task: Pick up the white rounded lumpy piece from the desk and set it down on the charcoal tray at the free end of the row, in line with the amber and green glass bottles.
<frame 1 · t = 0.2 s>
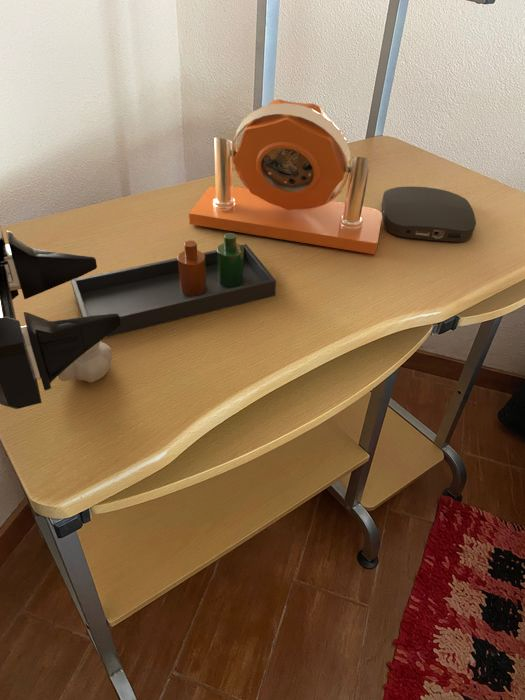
hand: (107, 289, 47), 15 cm above the table, tool horizontal, fingers open, 9 cm apart
desk clock: (286, 226, 87), on the table
media streaming box: (424, 221, 90), on the table
green bottle: (230, 279, 74), resting on tray
amber bottle: (193, 288, 72), resting on tray
tray: (176, 295, 72), on the table
white rounded lumpy piece: (87, 377, 60), on the table
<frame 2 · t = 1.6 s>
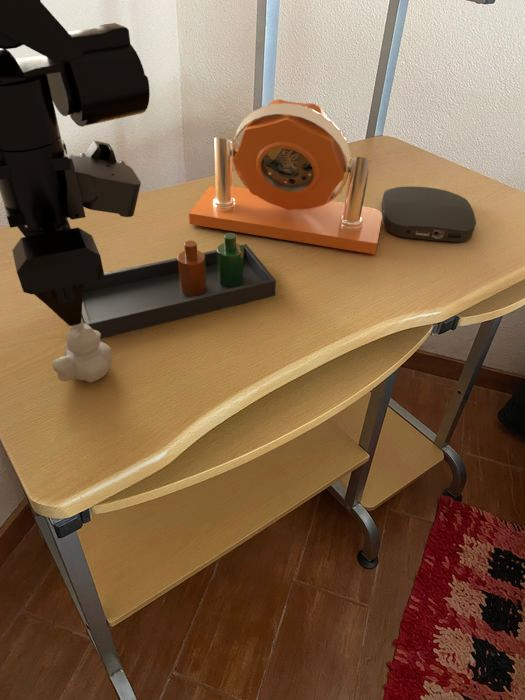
hand: (66, 296, 52), 11 cm above the table, tool pointing down, fingers open, 9 cm apart
nothing on the table moved.
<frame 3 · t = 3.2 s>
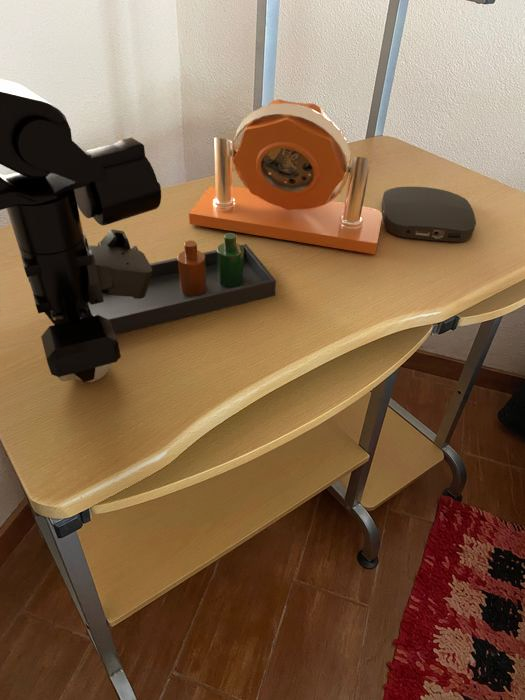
hand: (83, 362, 58), 2 cm above the table, tool pointing down, fingers closed on white rounded lumpy piece, 5 cm apart
white rounded lumpy piece: (87, 376, 60), on the table, touching gripper
everything else where it was.
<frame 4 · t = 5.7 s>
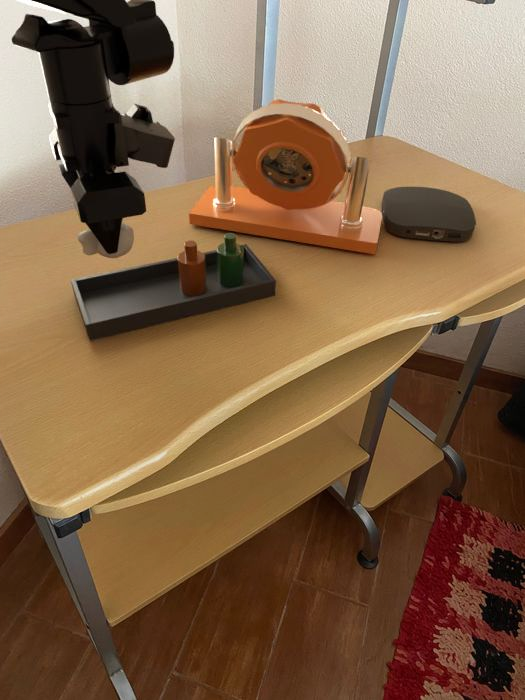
hand: (106, 240, 60), 11 cm above the table, tool pointing down, fingers closed on white rounded lumpy piece, 5 cm apart
white rounded lumpy piece: (110, 256, 62), point 9 cm above the table, touching gripper
everything else where it was.
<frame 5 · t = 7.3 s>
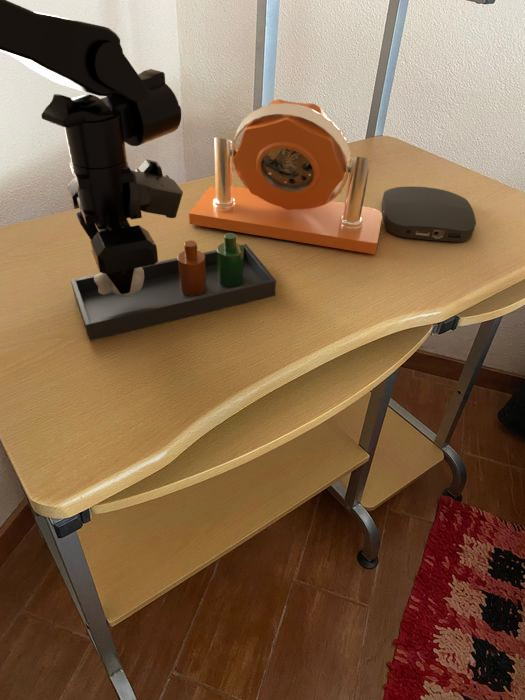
hand: (119, 280, 66), 4 cm above the table, tool pointing down, fingers closed on white rounded lumpy piece, 5 cm apart
white rounded lumpy piece: (122, 294, 68), point 2 cm above the table, touching gripper
everything else where it was.
when the fingers open (3 cm above the table, at t = 8.3 s): white rounded lumpy piece stays where it is, resting on tray.
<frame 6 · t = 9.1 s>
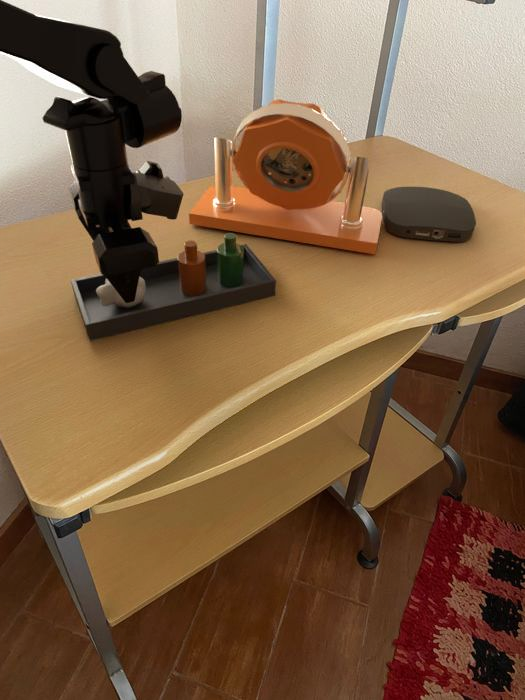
hand: (120, 281, 67), 4 cm above the table, tool pointing down, fingers open, 9 cm apart
white rounded lumpy piece: (124, 305, 69), resting on tray
everything else where it was.
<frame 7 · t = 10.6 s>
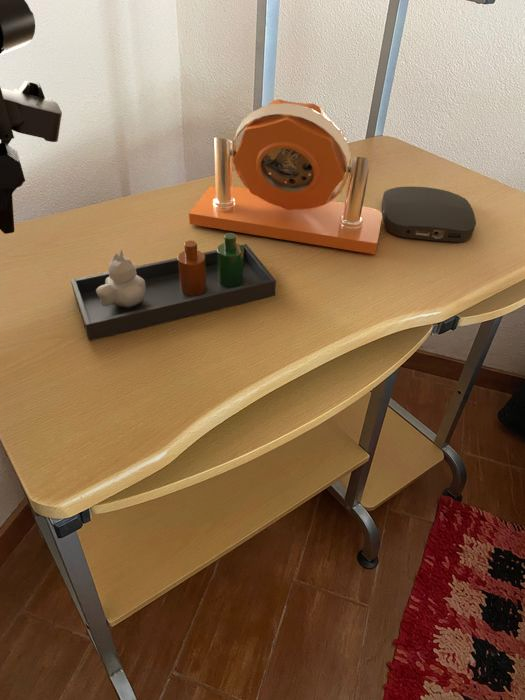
hand: (5, 214, 62), 12 cm above the table, tool pointing down, fingers open, 9 cm apart
nothing on the table moved.
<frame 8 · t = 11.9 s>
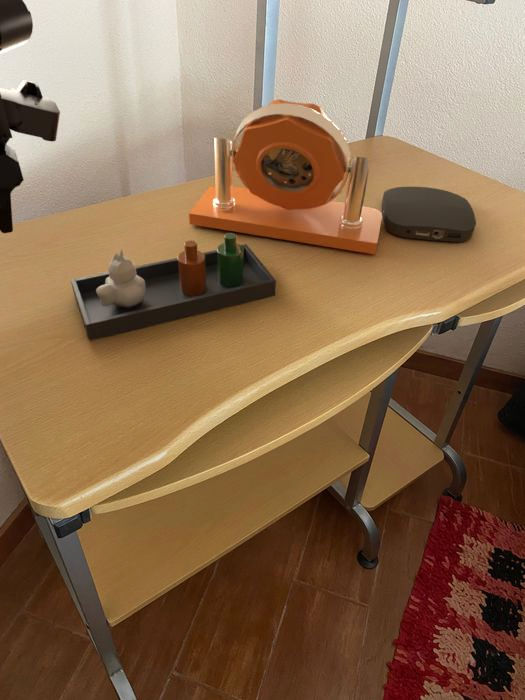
hand: (4, 213, 62), 12 cm above the table, tool pointing down, fingers open, 9 cm apart
nothing on the table moved.
at the end: white rounded lumpy piece 0.4 cm from the target spot, resting on tray; white rounded lumpy piece tilted 0°; amber bottle moved 0.0 cm from its start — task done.
